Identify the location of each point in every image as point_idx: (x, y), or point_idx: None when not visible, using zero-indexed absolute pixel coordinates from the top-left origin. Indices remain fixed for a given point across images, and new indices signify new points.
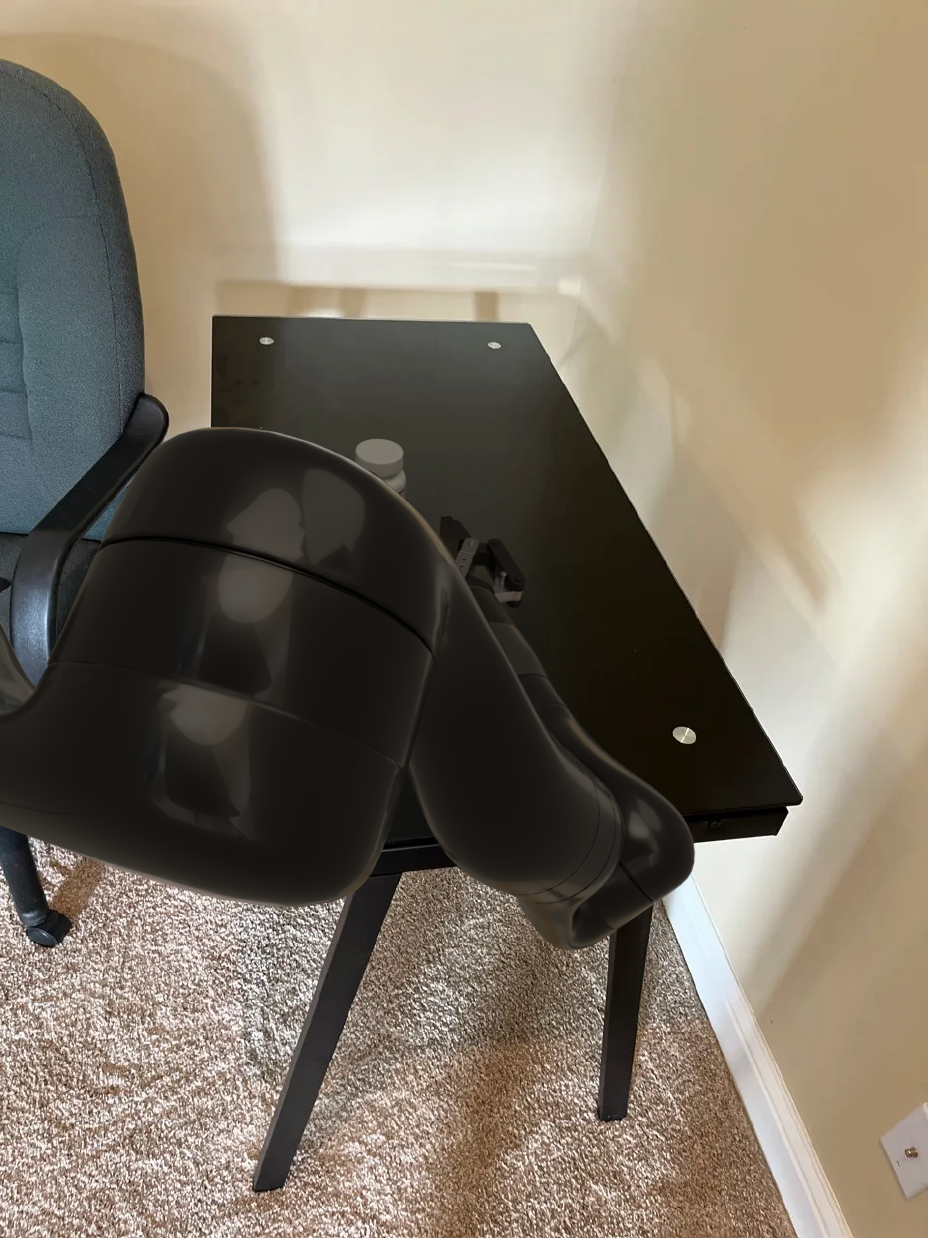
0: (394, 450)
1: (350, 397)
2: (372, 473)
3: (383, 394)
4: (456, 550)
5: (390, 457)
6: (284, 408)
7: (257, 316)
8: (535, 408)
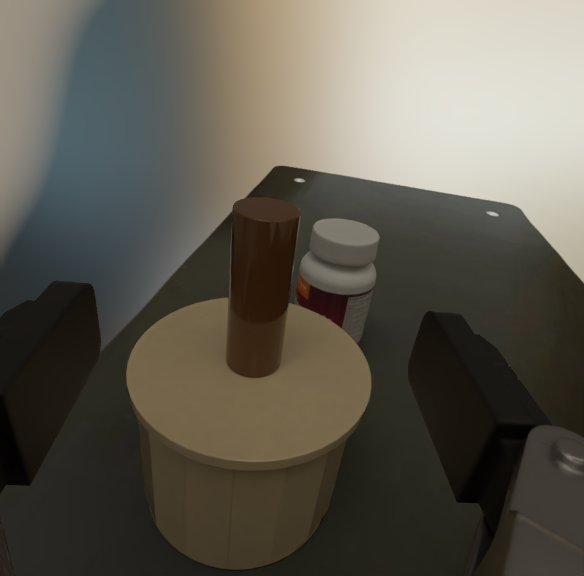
0: (367, 234)
1: None
2: (290, 206)
3: (381, 225)
4: (468, 460)
5: (358, 239)
6: None
7: (301, 168)
8: (536, 263)
